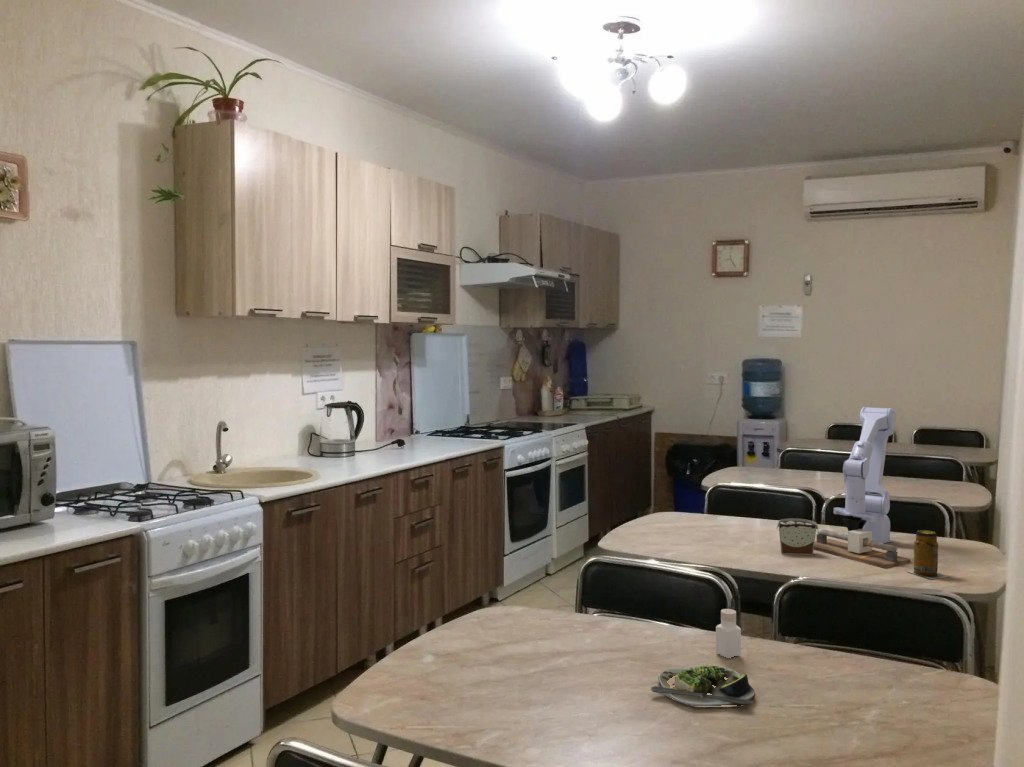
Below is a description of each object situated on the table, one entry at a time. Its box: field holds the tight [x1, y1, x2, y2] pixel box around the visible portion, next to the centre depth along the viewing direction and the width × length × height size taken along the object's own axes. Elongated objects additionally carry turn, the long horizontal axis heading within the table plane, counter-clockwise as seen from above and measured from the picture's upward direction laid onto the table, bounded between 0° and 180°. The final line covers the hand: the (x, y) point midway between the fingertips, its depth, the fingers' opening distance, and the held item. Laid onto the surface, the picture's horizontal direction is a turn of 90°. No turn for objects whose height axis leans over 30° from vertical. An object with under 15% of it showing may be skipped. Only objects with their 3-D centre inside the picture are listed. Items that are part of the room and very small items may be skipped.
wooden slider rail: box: [813, 527, 911, 569], centre depth 254 cm, size 12×29×6 cm, turn 30°
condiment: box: [906, 529, 950, 580], centre depth 232 cm, size 7×8×12 cm
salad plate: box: [650, 664, 756, 707], centre depth 156 cm, size 19×18×5 cm
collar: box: [847, 529, 873, 553], centre depth 252 cm, size 6×4×6 cm, turn 120°
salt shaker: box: [715, 608, 742, 659], centre depth 174 cm, size 4×4×10 cm
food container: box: [776, 518, 819, 556], centre depth 257 cm, size 12×6×10 cm, turn 83°
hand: (854, 540), depth 257 cm, fingers closed
